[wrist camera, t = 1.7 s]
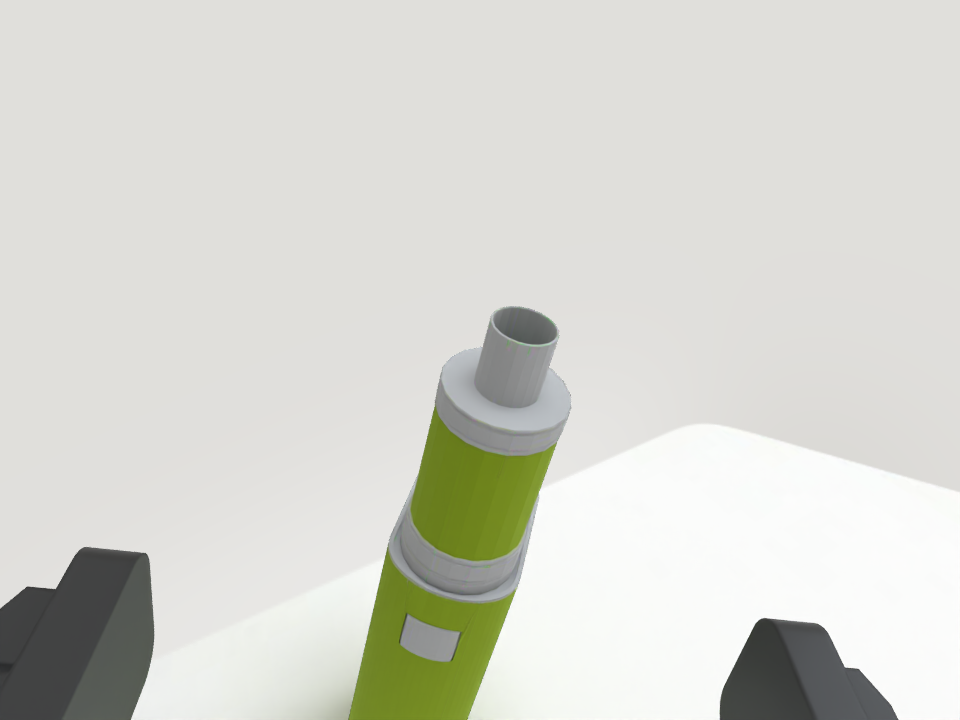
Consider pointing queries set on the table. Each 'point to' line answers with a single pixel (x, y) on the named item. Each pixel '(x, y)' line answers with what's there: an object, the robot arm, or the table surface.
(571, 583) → the table surface
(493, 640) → the vape
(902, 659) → the table surface
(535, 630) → the table surface
